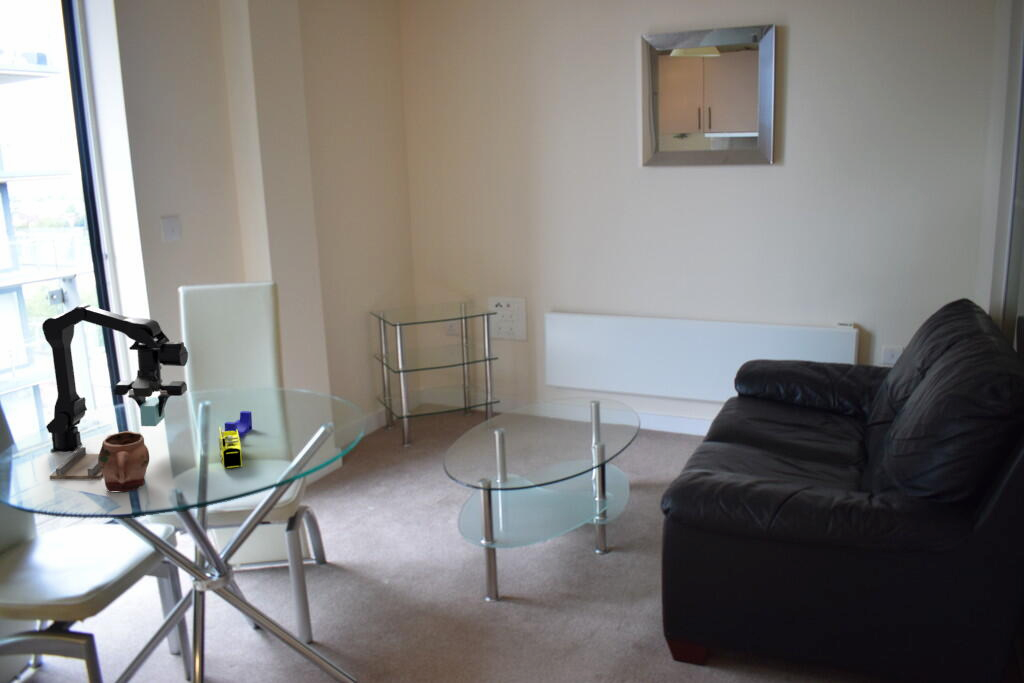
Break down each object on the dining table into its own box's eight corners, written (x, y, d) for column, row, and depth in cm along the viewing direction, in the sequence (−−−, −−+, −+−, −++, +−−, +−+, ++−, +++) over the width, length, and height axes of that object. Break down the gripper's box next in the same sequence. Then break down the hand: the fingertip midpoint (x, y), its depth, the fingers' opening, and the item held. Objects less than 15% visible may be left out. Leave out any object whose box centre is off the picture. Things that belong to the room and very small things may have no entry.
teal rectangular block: (141, 426, 248) (139, 406, 246) (150, 416, 255) (149, 397, 254) (155, 426, 248) (154, 406, 246) (164, 417, 256) (163, 397, 254)
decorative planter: (154, 499, 222) (149, 448, 218) (101, 507, 217) (96, 454, 213) (149, 471, 239) (145, 423, 236) (100, 477, 234) (95, 429, 231)
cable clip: (238, 428, 275) (237, 410, 273) (252, 429, 274) (251, 411, 273) (220, 441, 263) (219, 422, 262) (234, 442, 263) (233, 424, 261)
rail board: (49, 479, 232) (48, 468, 232) (75, 457, 248) (74, 447, 247) (99, 479, 233) (98, 468, 232) (122, 457, 249) (121, 447, 248)
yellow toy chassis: (218, 451, 255) (217, 424, 253) (239, 449, 257) (237, 422, 255) (221, 471, 241) (220, 443, 239) (243, 469, 243) (241, 441, 241)
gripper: (104, 371, 239) (108, 425, 243) (174, 372, 240) (177, 426, 244) (119, 361, 250) (123, 412, 253) (186, 362, 251) (188, 413, 255)
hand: (152, 416), depth 251 cm, fingers closed on teal rectangular block, 4 cm apart
